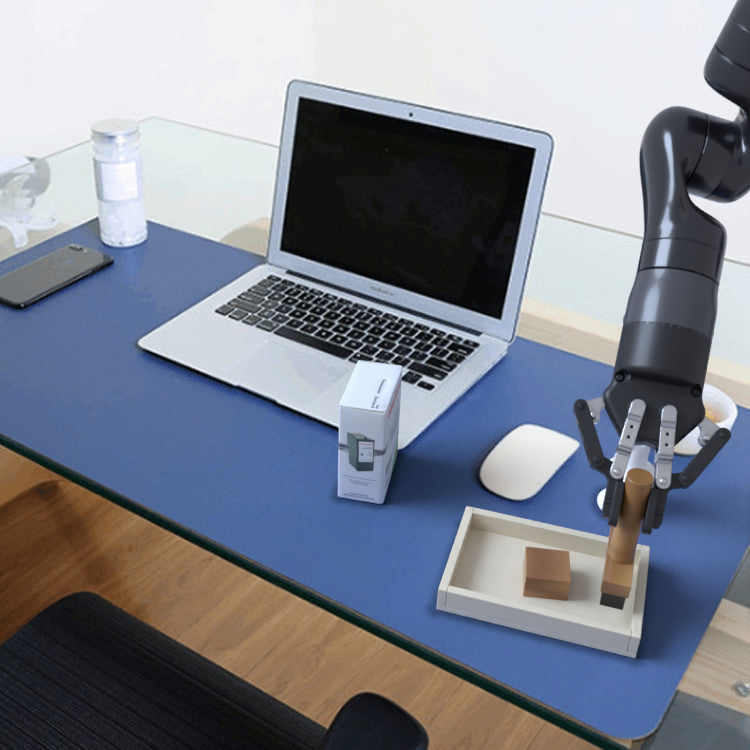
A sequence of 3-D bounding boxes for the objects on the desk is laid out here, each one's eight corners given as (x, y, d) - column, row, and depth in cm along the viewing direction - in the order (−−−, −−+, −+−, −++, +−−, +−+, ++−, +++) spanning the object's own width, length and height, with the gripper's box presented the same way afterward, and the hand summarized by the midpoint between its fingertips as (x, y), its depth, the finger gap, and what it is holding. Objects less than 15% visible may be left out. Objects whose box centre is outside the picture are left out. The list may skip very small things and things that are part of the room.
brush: (631, 555, 92) (657, 453, 85) (624, 611, 86) (652, 507, 79) (605, 549, 92) (629, 447, 86) (596, 605, 87) (621, 500, 80)
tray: (645, 566, 95) (650, 546, 94) (635, 658, 86) (640, 638, 84) (464, 525, 99) (466, 505, 98) (436, 609, 90) (438, 589, 88)
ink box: (354, 446, 109) (357, 355, 102) (399, 454, 108) (404, 362, 101) (335, 498, 102) (336, 403, 95) (383, 506, 101) (388, 411, 94)
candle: (661, 513, 101) (685, 418, 95) (619, 528, 99) (641, 433, 92) (627, 482, 105) (648, 388, 98) (586, 496, 103) (605, 402, 96)
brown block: (565, 569, 94) (569, 550, 92) (567, 601, 90) (571, 582, 89) (522, 564, 94) (525, 546, 93) (522, 596, 91) (525, 577, 89)
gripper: (587, 305, 84) (545, 508, 81) (759, 335, 81) (722, 547, 78) (585, 328, 91) (546, 514, 88) (742, 356, 88) (708, 551, 85)
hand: (629, 529), depth 83 cm, fingers closed on brush, 2 cm apart
